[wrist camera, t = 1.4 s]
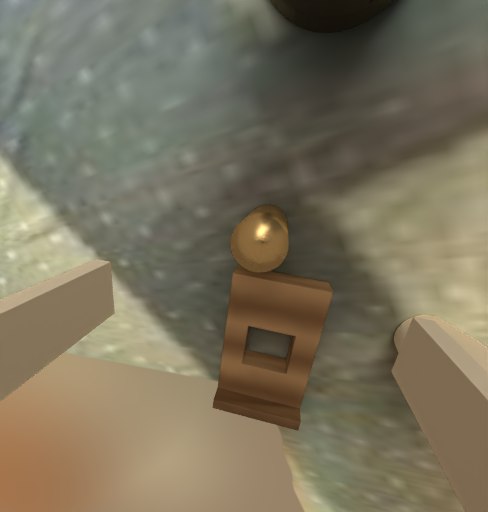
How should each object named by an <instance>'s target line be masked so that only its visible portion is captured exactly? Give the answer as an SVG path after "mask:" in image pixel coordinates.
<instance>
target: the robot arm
mask: <svg viewBox="0 0 488 512" xmlns="http://www.w3.org/2000/svg"><path fill="white" fill-rule="evenodd" d="M271 1H272V3H273V4H274V5H275V7H276V8H277V9H278V10H279V11H280V13H281V14H282V15H283V16H285V17H286V18H287V19H288V20H289V21H291V22H292V23H294V24H296V25H298V26H300V27H302V28H304V29H307V30H311V31H315V32H337V31H342V30H346V29H349V28H352V27H355V26H357V25H359V24H361V23H363V22H365V21H367V20H369V19H370V18H372V17H373V16H375V15H376V14H378V13H379V12H380V11H382V10H383V9H384V8H385V7H386V6H388V5H389V4H390V3H391V2H392V1H393V0H271ZM113 314H114V300H113V287H112V274H111V262H108V261H102V260H97V259H95V260H93V261H90V262H88V263H86V264H83V265H81V266H79V267H76V268H74V269H71V270H69V271H67V272H64V273H62V274H60V275H57V276H55V277H52V278H50V279H48V280H45V281H43V282H41V283H38V284H36V285H33V286H31V287H29V288H26V289H24V290H22V291H19V292H17V293H14V294H12V295H10V296H7V297H5V298H3V299H0V401H2V400H3V399H4V398H6V397H7V396H8V395H9V394H11V393H12V392H13V391H15V390H16V389H17V388H18V387H20V386H21V385H22V384H24V383H25V382H26V381H27V380H29V379H30V378H31V377H33V376H34V375H35V374H37V373H38V372H39V371H40V370H41V369H43V368H44V367H46V366H47V365H48V364H49V363H51V362H52V361H53V360H55V359H56V358H57V357H58V356H60V355H61V354H62V353H64V352H65V351H66V350H67V349H69V348H70V347H71V346H73V345H74V344H75V343H76V342H78V341H79V340H80V339H82V338H83V337H84V336H86V335H87V334H88V333H89V332H91V331H92V330H93V329H95V328H96V327H97V326H98V325H100V324H101V323H102V322H104V321H105V320H106V319H107V318H109V317H110V316H111V315H113ZM391 372H392V374H393V376H394V378H395V380H396V382H397V384H398V385H399V387H400V389H401V391H402V393H403V395H404V397H405V399H406V401H407V402H408V404H409V406H410V408H411V410H412V412H413V414H414V416H415V418H416V419H417V421H418V423H419V425H420V427H421V429H422V431H423V433H424V435H425V436H426V438H427V440H428V442H429V444H430V446H431V448H432V450H433V452H434V453H435V455H436V457H437V459H438V461H439V463H440V465H441V467H442V469H443V470H444V472H445V474H446V476H447V478H448V480H449V482H450V484H451V486H452V487H453V489H454V491H455V493H456V495H457V497H458V499H459V501H460V503H461V504H462V506H463V508H464V510H465V512H488V373H487V372H486V371H485V370H484V369H483V368H482V367H481V366H480V365H479V364H478V363H477V362H476V361H475V360H474V359H473V358H472V357H471V356H470V355H469V354H468V353H467V352H466V351H465V350H464V349H463V348H462V347H461V346H459V345H458V344H457V343H456V342H455V341H454V340H453V339H452V338H451V337H450V336H449V335H448V334H447V333H446V332H445V331H444V330H443V329H442V328H441V327H440V326H439V325H438V324H437V323H436V322H435V321H433V320H427V319H422V318H416V317H413V318H412V321H411V323H410V326H409V328H408V331H407V333H406V336H405V338H404V341H403V343H402V346H401V348H400V351H399V353H398V356H397V358H396V361H395V363H394V366H393V368H392V371H391Z"/></svg>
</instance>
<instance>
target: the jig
mask: <svg viewBox="0 0 488 512" xmlns="http://www.w3.org/2000/svg"><path fill="white" fill-rule="evenodd" d="M332 295H333V291H332V289H331V287H330V284H329V282H324V281H319V280H314V279H308V278H303V277H298V276H293V275H287V274H282V273H277V272H272V271H268V272H262V273H261V272H252V271H249V270H247V269H245V268H243V267H242V266H240V265H237V267H236V269H235V271H234V272H233V277H232V285H231V292H230V300H229V307H228V315H227V322H226V330H225V337H224V345H223V352H222V360H221V367H220V375H219V382H218V389H217V392H216V394H215V397H214V402H213V408H216V409H219V410H223V411H227V412H231V413H234V414H238V415H242V416H246V417H249V418H253V419H257V420H261V421H265V422H269V423H272V424H276V425H279V426H283V427H287V428H291V429H294V430H298V429H299V425H300V406H301V402H302V399H303V395H304V392H305V388H306V385H307V381H308V378H309V374H310V371H311V368H312V364H313V361H314V357H315V354H316V350H317V347H318V343H319V340H320V336H321V333H322V329H323V326H324V322H325V319H326V315H327V312H328V309H329V305H330V302H331V298H332ZM249 326H251V327H256V328H260V329H265V330H269V331H274V332H278V333H283V334H288V335H292V338H291V342H290V346H289V350H288V355H287V359H285V358H281V357H276V356H272V355H268V354H264V353H259V352H255V351H251V350H246V349H245V348H246V342H247V337H248V331H249Z"/></svg>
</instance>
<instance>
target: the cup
mask: <svg viewBox="0 0 488 512" xmlns="http://www.w3.org/2000/svg"><path fill="white" fill-rule="evenodd" d="M415 317H416V318H422V319H427V320H433V321H435V322H436V323H437V324H438V325H439V326H440V327H441V328H442V329H443V330H444V331H445V332H446V333H447V334H448V335H449V336H450V337H451V338H452V339H453V340H454V341H455V342H456V343H457V344H458V345H459V346H461V347H462V348H463V349H464V350H465V351H466V352H467V353H468V354H469V355H470V356H471V357H472V358H473V359H474V360H475V361H476V362H477V363H478V364H479V365H480V366H481V367H482V368H483V369H484V370H485V371H486V372H487V373H488V347H486V346H484V345H483V344H481V343H480V342H478V341H476V340H475V339H473V338H471V337H470V336H468V335H467V334H465V333H463V332H462V331H460V330H459V329H457V328H455V327H454V326H452V325H451V324H449V323H447V322H446V321H444V320H442V319H441V318H438V317H436V316H432V315H419V316H415ZM412 318H413V317H412ZM412 318H409V319H407V320H406V321H404V322H403V323H402V324H401V325H400V326H399V327H398V328H397V330H396V332H395V335H394V343H395V346H396V348H397V351H398V353H399V351H400V348H401V346H402V343H403V341H404V338H405V336H406V333H407V331H408V328H409V326H410V323H411V321H412Z"/></svg>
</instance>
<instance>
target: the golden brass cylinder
mask: <svg viewBox="0 0 488 512" xmlns="http://www.w3.org/2000/svg"><path fill="white" fill-rule="evenodd" d="M288 247H289V244H288V222H287V218H286V215H285V214H284V212H283V211H282V210H281V209H280V208H278V207H276V206H274V205H261V206H259V207H257V208H256V209H254V210H253V211H252V212H251V213H250V214H249V215H248V216H247V217H245V218H244V219H243V220H242V221H241V222H240V223H239V224H238V225H237V226H236V227H235V229H234V230H233V232H232V235H231V239H230V248H231V252H232V255H233V257H234V258H235V260H236V261H237V262H238V263H239V264H240V265H241V266H242V267H243V268H245V269H247V270H249V271H252V272H261V273H262V272H268V271H271V270H273V269H275V268H276V267H278V266H279V265H280V264H281V263H282V262H283V261H284V259H285V257H286V255H287V252H288Z"/></svg>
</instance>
